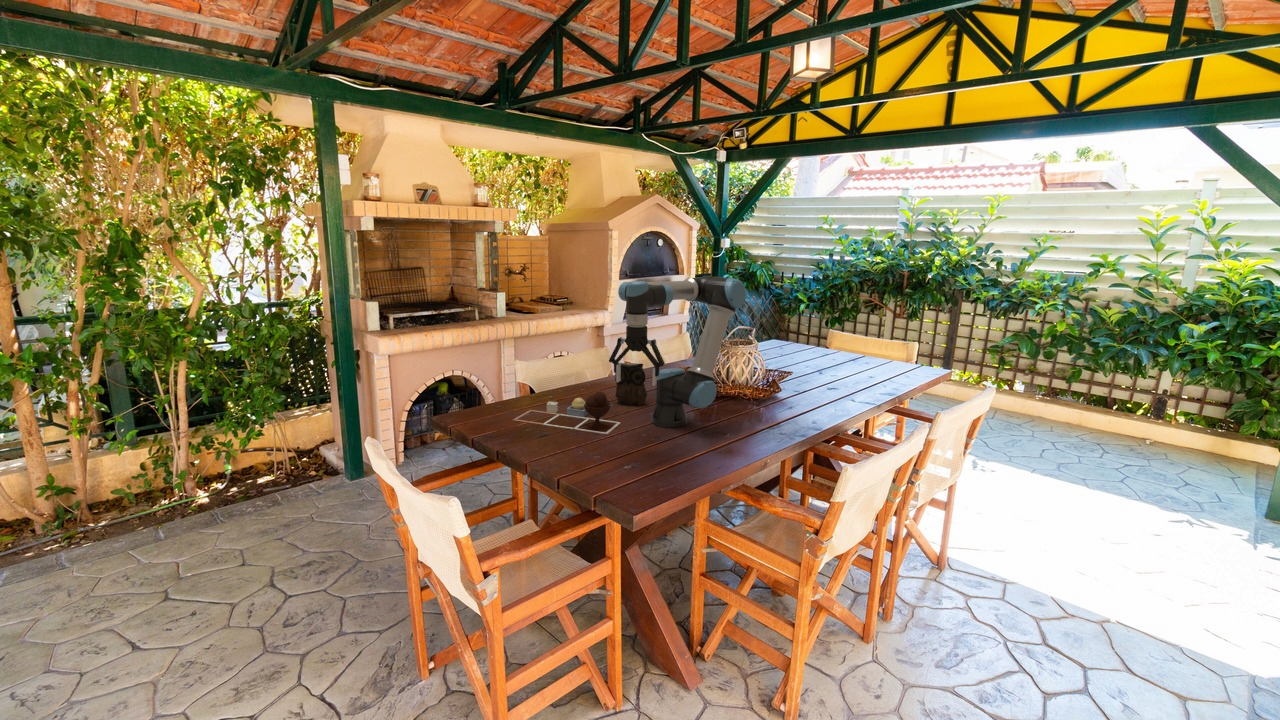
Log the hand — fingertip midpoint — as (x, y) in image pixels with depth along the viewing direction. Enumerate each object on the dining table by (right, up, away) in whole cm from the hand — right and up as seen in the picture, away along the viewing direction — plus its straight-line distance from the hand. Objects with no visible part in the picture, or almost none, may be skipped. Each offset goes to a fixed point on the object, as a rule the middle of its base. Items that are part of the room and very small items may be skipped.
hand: (636, 383), depth 211 cm
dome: (-26, -13, +44) cm, 53 cm away
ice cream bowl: (-16, -19, +29) cm, 39 cm away
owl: (-2, -12, +63) cm, 64 cm away
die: (-38, -15, +47) cm, 62 cm away
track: (-29, -18, +34) cm, 48 cm away
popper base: (-26, -15, +45) cm, 54 cm away
